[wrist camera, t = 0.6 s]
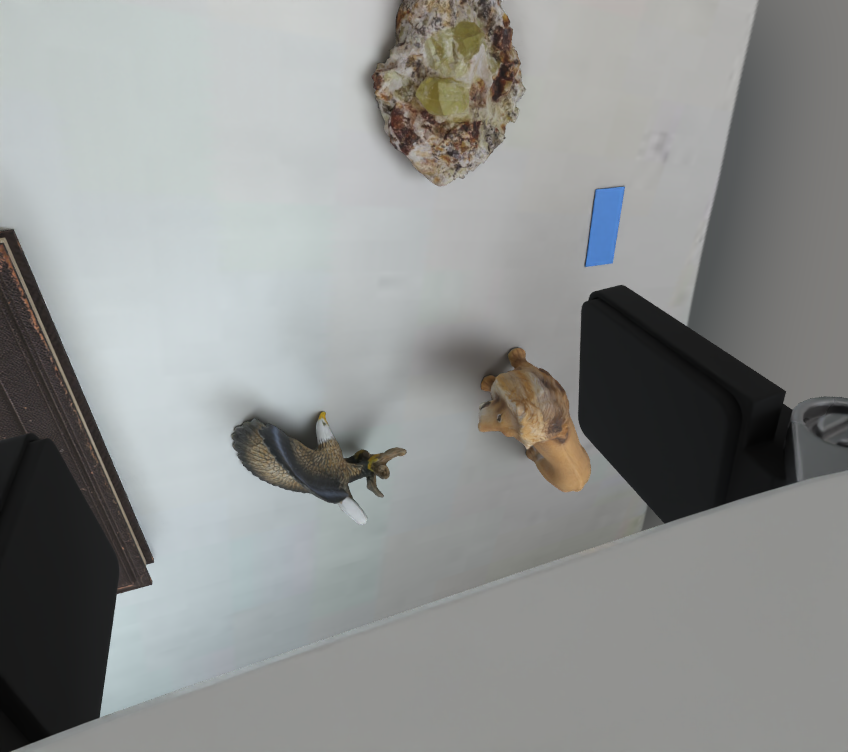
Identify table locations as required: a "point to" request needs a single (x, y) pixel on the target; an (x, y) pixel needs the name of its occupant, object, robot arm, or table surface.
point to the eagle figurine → (310, 463)
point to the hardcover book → (59, 409)
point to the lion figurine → (536, 421)
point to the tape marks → (604, 226)
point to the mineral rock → (449, 85)
